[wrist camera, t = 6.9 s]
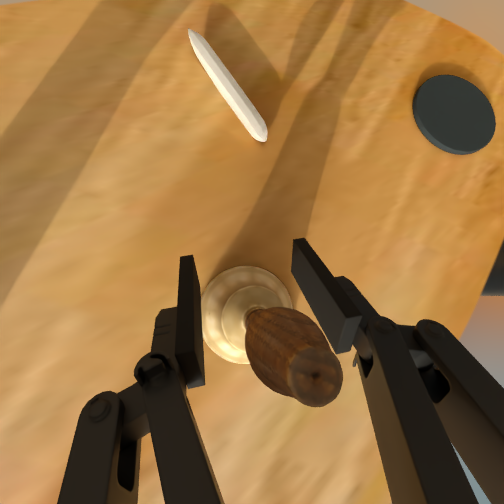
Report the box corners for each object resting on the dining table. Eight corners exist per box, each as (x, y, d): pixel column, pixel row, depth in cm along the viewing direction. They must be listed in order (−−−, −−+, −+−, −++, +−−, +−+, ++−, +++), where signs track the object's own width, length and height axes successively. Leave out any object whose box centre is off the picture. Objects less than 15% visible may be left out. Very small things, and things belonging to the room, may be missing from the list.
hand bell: (306, 341, 21) (546, 473, 5) (215, 379, 20) (189, 705, 4) (273, 253, 22) (395, 153, 6) (185, 283, 21) (73, 245, 5)
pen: (196, 38, 25) (194, 21, 24) (270, 141, 24) (274, 130, 23) (183, 44, 25) (180, 26, 23) (258, 148, 24) (260, 138, 22)
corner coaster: (485, 87, 29) (490, 82, 29) (494, 160, 27) (500, 157, 27) (410, 72, 28) (414, 67, 28) (414, 147, 26) (418, 144, 26)
